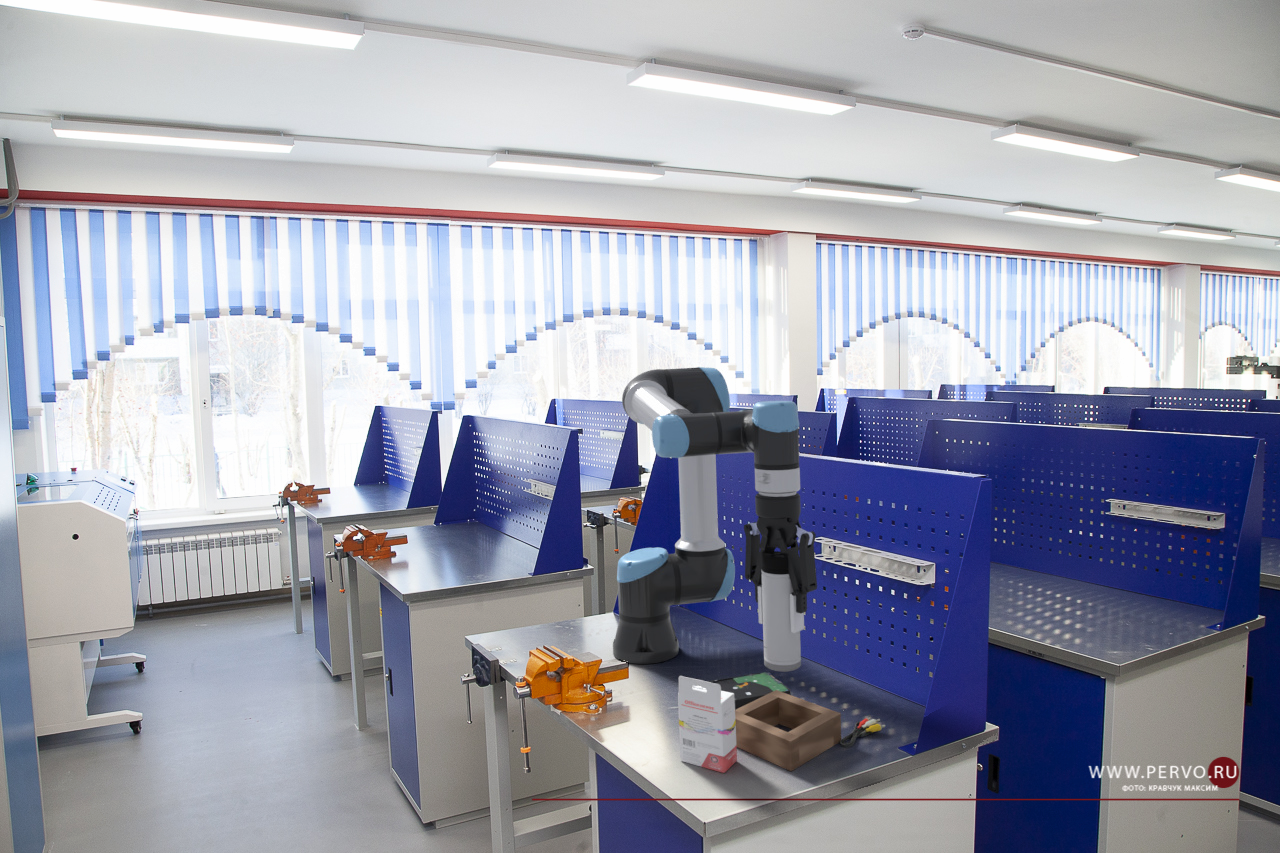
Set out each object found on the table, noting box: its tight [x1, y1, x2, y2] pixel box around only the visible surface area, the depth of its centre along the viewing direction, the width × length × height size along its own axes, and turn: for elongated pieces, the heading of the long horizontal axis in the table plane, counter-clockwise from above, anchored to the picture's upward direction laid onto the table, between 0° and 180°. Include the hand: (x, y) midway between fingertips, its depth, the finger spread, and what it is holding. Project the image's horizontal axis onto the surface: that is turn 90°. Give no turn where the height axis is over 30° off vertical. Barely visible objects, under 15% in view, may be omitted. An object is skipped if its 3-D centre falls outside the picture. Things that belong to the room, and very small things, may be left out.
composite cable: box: [839, 716, 886, 748], centre depth 138 cm, size 10×5×2 cm, turn 122°
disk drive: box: [707, 672, 792, 710], centre depth 156 cm, size 10×3×15 cm
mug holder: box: [735, 690, 842, 772], centre depth 137 cm, size 14×14×5 cm
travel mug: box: [761, 550, 802, 673], centre depth 135 cm, size 6×7×20 cm
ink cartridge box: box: [677, 675, 738, 774], centre depth 131 cm, size 9×5×15 cm, turn 56°
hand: (781, 625), depth 135 cm, fingers closed on travel mug, 6 cm apart
